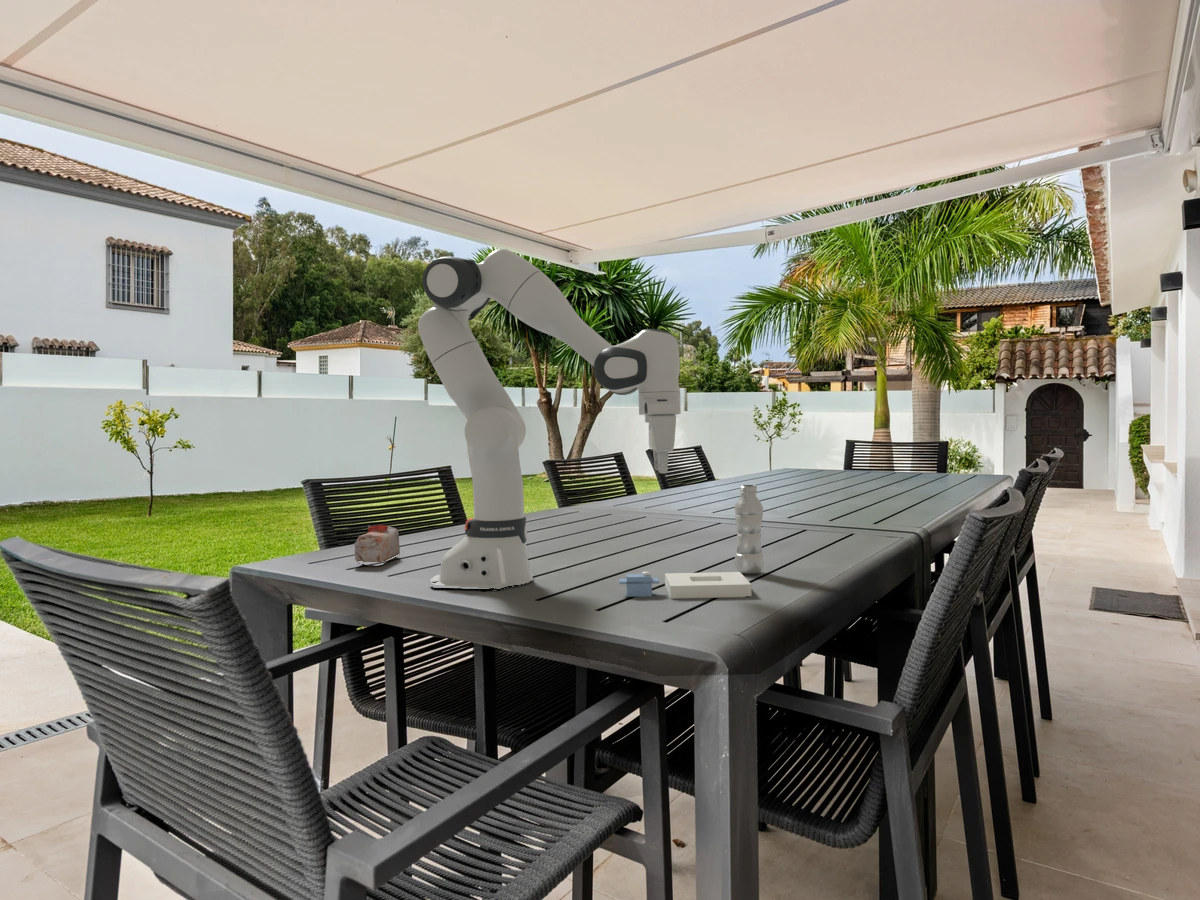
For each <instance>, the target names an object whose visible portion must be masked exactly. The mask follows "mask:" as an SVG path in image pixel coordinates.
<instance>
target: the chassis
mask: <svg viewBox="0 0 1200 900" xmlns="http://www.w3.org/2000/svg"><path fill="white" fill-rule="evenodd" d="M664 586H665V589H666V590H667V593H668V596H669V598H670V599H711V598H712V599H713V598H716V599H717V598H718V599H719V598H747V597H746V596H751V597H752V583H751V582H750V581H749V580H748V579H747V578H746V577H745V575H743V573H741V572H738V571H722V572H721V571H720V572H719V571H718V572H717V571H715V572H677V573H676V572H673V573H672V572H671V573H670V572H669V573H668V572H666V573H664Z"/></svg>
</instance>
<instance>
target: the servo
mask: <svg viewBox="0 0 1200 900" xmlns="http://www.w3.org/2000/svg"><path fill="white" fill-rule="evenodd" d="M625 576H626V577H625V578H618V584H619V585H625V587H626V588H625V589H626V590H625V591H626V592H625V593H626V598H628V597H629V598H631V597H634V598H635V597H652V596H653V592H652V591H653V586H652V585H654V584H657V585H658V584H660V580H659V577H652V575H651V572H650V571H642V572H641V573H626V574H625Z"/></svg>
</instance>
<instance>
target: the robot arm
mask: <svg viewBox="0 0 1200 900" xmlns="http://www.w3.org/2000/svg"><path fill="white" fill-rule="evenodd" d="M422 286H423V289H424V293H425V295H426V296H427V297H428V298H429V300H430V301H431V302H432V303H433V305H432V306H431V308H428V309H427V310H425V312H423V313H422V314H421V316H420V318H419V319H418V322H417V330H418V333H419V337H420V339H421V342H422V345H423V348H424V350H425V352H426V354H427V357H428V359H429V361H430V362H431V365H432V366H433V369H434V370H435V372H436V374H437V376H438V377H439V380H440V381H441V383H442V386H443V387H444V389H445V390H446V392H447V394H448V396H449V397H450V399H451V400H452V401H453V402H454V403H455V405H456V406H457V408H458V409H459V410H460V411H461V413H462V415H463V416H464V418H465V419H466V420H467V421H466V423H465V427H464V438H465V441H466V446H467V449H466V450H467V455H468V462H469V467H470V474H471V478H472V480H471V481H472V493H473V494H472V495H473V496H472V498H473V518H472V517H471V518H470V517H469V518H468V519H467V520H466V521H465V523H464V532H465V533H464V534H465V535H466V536H465V537H463V538H462V539H461V540H459V541H458V542H457V543H456V544H454V546H453V547H451V548H450V549H449V550H448V551H447V552H445V554H444V555H443V557H442V559H441V563H440V569H439V574H440V575H439V574H438V573H437V574H436V575H434V576H433V577H431V578H430V580H429V584H430V583H431V582H433V581H438V582H436V583H431V584H433V585H445V586H460V587H478V588H494V589H495V588H503V587H507V586H512V587H514V586H513V585H518V586H522V585H525V583H526V584H529V583H531V582H532V581H533V580H534V577H533V574H532V571H531V568H530V564H529V559H528V558H529V557H528V553H527V541H528V540H527V539H528V522H527V518H526V516H525V508H524V507H525V504H524V502H525V501H524V499H525V498H524V479H523V477H522V475H523V474H522V469H521V460H520V452H519V448H520V447H521V446H522V444H523V443H524V441H525V438H526V434H527V431H526V429H527V428H526V423H525V420H524V419H523V417H522V415H521V413H520V411H518V408H517V407H516V405H515V403H514V402H513V400H512V399H511V397H510V395H509V394H508V392H507V391H506V389H505V388H504V386H503V385H502V383H501V381H500V380H499V379H498V377H497V376H496V374H495V372H494V370H493V368H492V366H491V365H490V363H489V361H488V360H487V357H486V356H485V354H484V352H483V350H482V349H481V347H480V345H479V343H478V341H477V339H476V337H475V335H474V334H473V332H472V330H471V327H470V325H469V321H471V320H473V319H474V318H475V317H477V315H478V314H479V312H481V311H482V310H483V309H484V308H485V307H486V306H487V305H488V304H489V302H490V301H491V299H492V300H494V301H496V302H497V303H499V305H501V306H502V307H504V308H505V309H506V310H507V311H508V312H509V313H510V314H511V315H513V316H514V317H515V318H516V319H518V320H519V321H521V322H522V323H524V324H525V325H527V326H529V327H531V328H533V329H534V330H536V331H539V332H540V333H544V334H547V335H549V336H552V337H553V338H555V339H557V340H559V341H561V342H562V343H564V344H566V346H568V347H570V348H571V349H572V350H573V351H574V352H576V353H577V355H580V357H582V358H583V359H585V360H586V361H587V362H588V363H589V364H590V365H591V366H592V367H593V374H594V378H595V380H596V382H597V383H598V384H599V385H600V386H601V387H603V388H604V389H606V390H608V391H609V392H611V393H612V394H615V395H618V396H627V395H631V394H633V393H635V392H636V391H637V390H638V415H640V416H644V423H645V424H648V447H649V448H650V449H651V450H653V451H652V453H653V461H654V462H653V463H654V469H655V470H656V471H658V473H660V474H667V473H668V471H669V469H668V468H669V467H668V463H669V452H673V451H674V446H675V440H676V438H675V437H676V429H677V428H676V427H677V425H676V424H677V416H676V415H681V414H682V412H681V405H682V403H681V388H680V386H679V385H680V384H679V377H680V370H681V364H680V362H681V361H680V350H679V344H678V341H677V338H676V337H675V335H673V334H672V333H670V331H665V330H663V329H662V330H661V329H655V328H646V329H642V330H640V331H639V332H638V333H637V334H636V335H634V336H633V337H631V338H630V339H628V340H625V341H623V342H621V343H618V344H616V345H613V344H611V343H610V342H609V341H607V340H606V339H605V338H604V337H602V336H601V335H600V334H599V333H598V332H597V331H596V330H594V329H593V328H592V327H590V326H589V325H588V324H587V323H586V322H585V321H584V320H583V319H582V318H581V317H580V315H579V314H578V313H577V312H576V311H575V309H574V308H573V306H572V305H571V303H570V302H569V300H568V299H567V297H566V296H565V294H563V292H562V291H561V290H560V288H559V287H558V286H557V285H556V284H555V283H554V282H553V281H552V280H551V279H550V278H549V277H548V276H547V275H546V274H545V273H544V272H543V271H542V270H540V268H538V267H536V266H535V265H534V264H532V263H531V262H530V261H528V260H527V259H525V258H524V257H522V256H520V255H519V254H517V253H515V252H514V251H511V250H509V249H508V248H498V249H496V250H494V251H492V252H490V253H488V255H487V256H486V257H485V258H484V259H483V261H481V262H480V263H476V261H475V260H473V259H468V258H464V257H463V258H461V257H456V256H442V257H438V258H436V259H434V260H432V261H431V262H430V263H429V264H428V265H427V266H426V267H425V269H424V272H423V275H422ZM530 581H531V582H530ZM521 584H522V585H521ZM507 588H508V587H507Z"/></svg>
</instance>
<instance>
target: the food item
mask: <svg viewBox="0 0 1200 900" xmlns="http://www.w3.org/2000/svg"><path fill="white" fill-rule="evenodd" d="M367 531H368V532H367V533H365V534H362V535H359V536H358V537H357V539H356V541H355V542H354V543H353V545H354V559H355V561H356V563H357V562H358V561H363V562H382V561H386V560H388V559H390V558H392V557H394V556H396V555H398V554H399V555H400V554H401V553H400V551H401V550H400V549H401V547H400V546H401V545H400V537H399V535H400V534H399V533H400V532H399V529H397V528H395V527H392V526H391V527H390V526H387V525H383V524H381V523H380V524H377V525H373V526H372V525H370V524H368V525H367ZM358 563H359V562H358Z"/></svg>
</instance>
